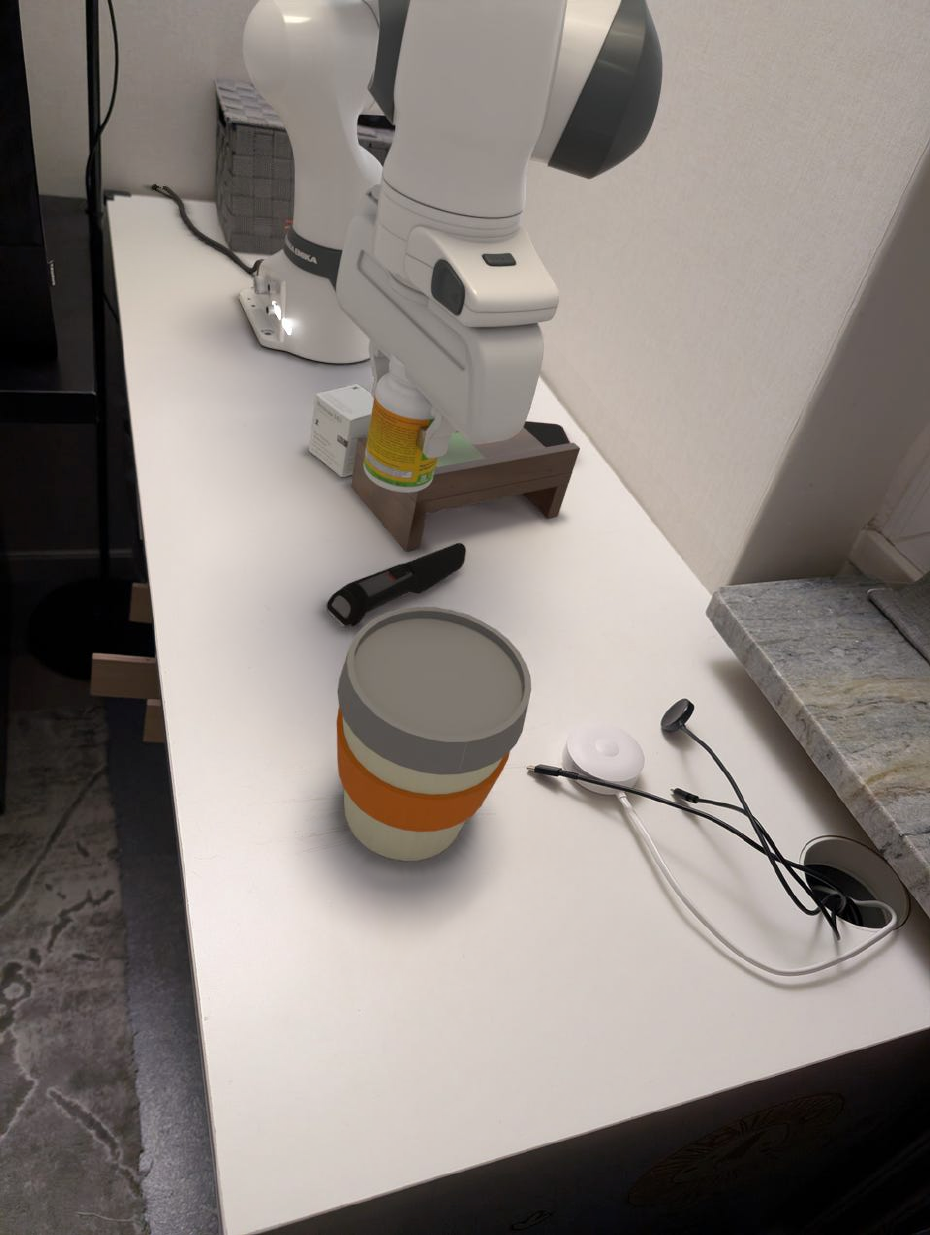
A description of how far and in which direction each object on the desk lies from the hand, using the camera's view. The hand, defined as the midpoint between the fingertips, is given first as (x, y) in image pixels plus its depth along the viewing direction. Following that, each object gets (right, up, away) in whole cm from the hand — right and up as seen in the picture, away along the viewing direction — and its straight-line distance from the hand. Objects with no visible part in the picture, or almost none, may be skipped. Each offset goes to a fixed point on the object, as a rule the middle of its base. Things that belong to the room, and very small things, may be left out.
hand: (407, 427), depth 65 cm
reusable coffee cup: (0, -28, +2) cm, 28 cm away
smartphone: (+10, +8, +46) cm, 48 cm away
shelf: (+3, -1, +34) cm, 34 cm away
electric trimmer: (-2, -12, +20) cm, 23 cm away
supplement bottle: (-1, -3, +3) cm, 4 cm away
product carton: (-9, +4, +36) cm, 37 cm away
